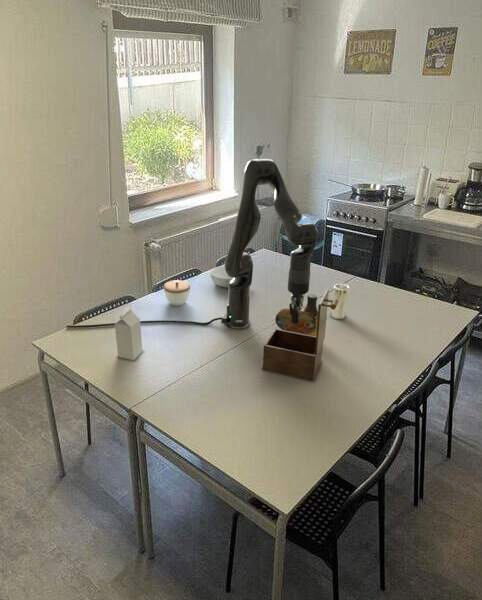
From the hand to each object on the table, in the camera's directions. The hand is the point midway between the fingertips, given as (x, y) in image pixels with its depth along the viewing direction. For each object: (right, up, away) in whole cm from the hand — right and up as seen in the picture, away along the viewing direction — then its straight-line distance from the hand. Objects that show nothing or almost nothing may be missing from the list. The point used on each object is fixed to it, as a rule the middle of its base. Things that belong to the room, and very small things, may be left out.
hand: (295, 321), depth 181 cm
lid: (+9, 0, -4) cm, 9 cm away
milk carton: (-64, -14, +14) cm, 67 cm away
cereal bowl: (-26, +16, +77) cm, 82 cm away
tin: (0, -4, +2) cm, 4 cm away
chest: (0, -18, +9) cm, 20 cm away
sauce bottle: (+9, -9, +28) cm, 30 cm away
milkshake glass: (+26, 0, +46) cm, 53 cm away
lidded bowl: (-50, +6, +57) cm, 76 cm away
